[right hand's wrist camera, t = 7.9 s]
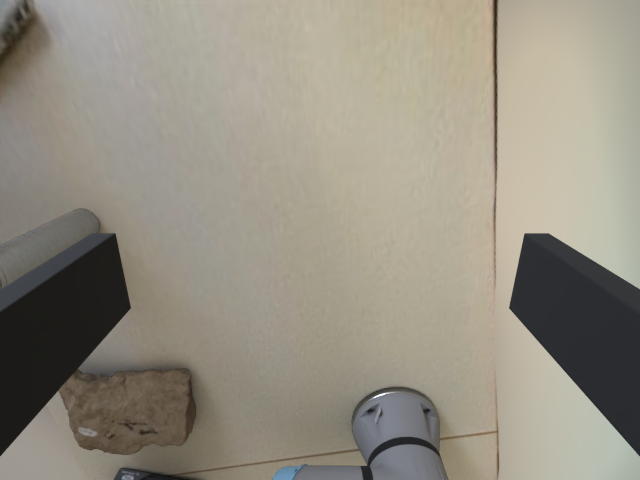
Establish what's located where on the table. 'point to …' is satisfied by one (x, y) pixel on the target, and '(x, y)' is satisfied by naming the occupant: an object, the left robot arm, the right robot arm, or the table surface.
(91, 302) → the right robot arm
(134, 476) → the graphics card box
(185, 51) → the table surface
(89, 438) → the stone
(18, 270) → the bottle
